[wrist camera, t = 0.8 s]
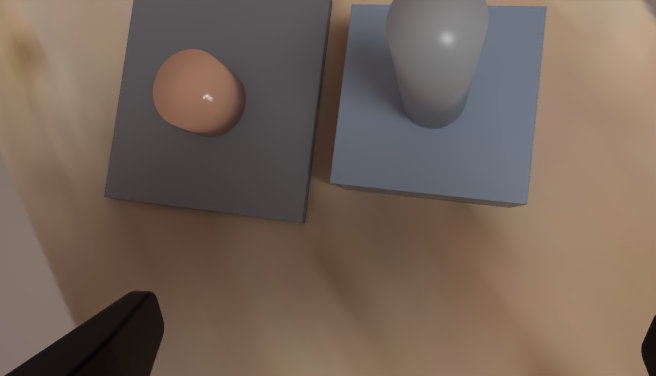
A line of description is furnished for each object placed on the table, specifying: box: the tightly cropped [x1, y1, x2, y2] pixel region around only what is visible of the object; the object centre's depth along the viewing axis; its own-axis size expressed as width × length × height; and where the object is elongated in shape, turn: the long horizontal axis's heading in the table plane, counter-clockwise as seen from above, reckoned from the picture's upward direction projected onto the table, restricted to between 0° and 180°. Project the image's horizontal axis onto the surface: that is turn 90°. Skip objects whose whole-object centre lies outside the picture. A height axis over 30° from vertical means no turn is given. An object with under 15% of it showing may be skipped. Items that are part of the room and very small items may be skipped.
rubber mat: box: [104, 0, 332, 223], centre depth 25 cm, size 12×12×1 cm
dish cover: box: [330, 0, 547, 208], centre depth 17 cm, size 8×8×11 cm
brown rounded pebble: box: [153, 49, 246, 137], centre depth 23 cm, size 4×4×2 cm
